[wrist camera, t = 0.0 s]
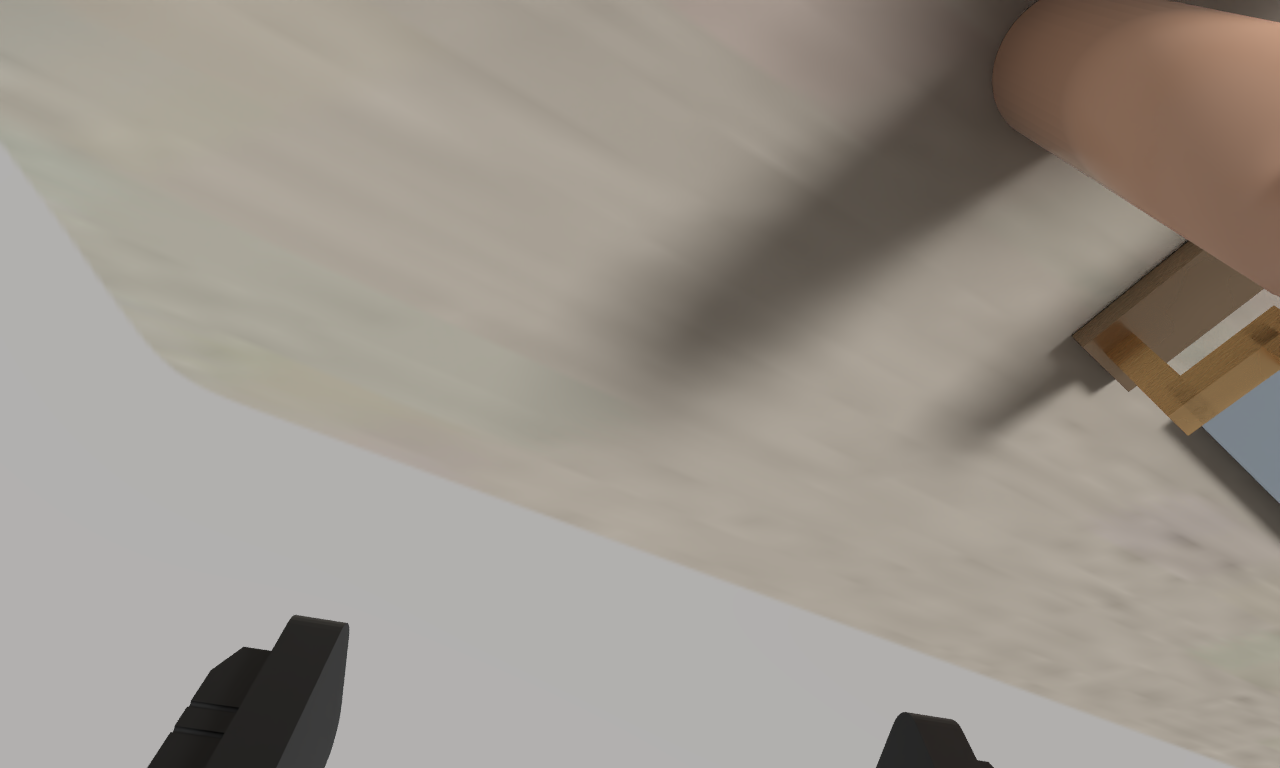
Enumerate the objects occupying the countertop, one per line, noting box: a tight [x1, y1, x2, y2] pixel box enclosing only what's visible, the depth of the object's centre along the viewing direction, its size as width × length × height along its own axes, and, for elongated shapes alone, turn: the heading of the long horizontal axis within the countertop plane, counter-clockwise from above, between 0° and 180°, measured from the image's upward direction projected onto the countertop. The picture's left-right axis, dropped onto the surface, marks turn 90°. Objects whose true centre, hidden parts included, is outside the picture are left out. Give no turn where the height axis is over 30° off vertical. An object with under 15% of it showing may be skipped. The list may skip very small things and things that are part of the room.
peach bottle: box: [992, 0, 1280, 297], centre depth 22 cm, size 5×5×16 cm
